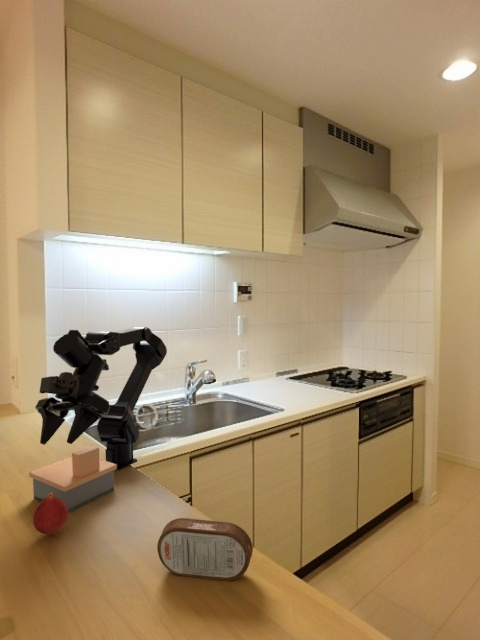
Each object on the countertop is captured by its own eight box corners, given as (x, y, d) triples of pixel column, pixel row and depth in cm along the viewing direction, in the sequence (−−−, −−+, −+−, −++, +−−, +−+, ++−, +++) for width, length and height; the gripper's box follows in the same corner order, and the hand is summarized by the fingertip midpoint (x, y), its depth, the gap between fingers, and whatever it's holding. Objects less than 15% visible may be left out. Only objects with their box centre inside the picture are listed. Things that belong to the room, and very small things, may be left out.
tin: (253, 573, 64) (252, 521, 63) (250, 587, 61) (249, 532, 60) (162, 563, 66) (161, 513, 66) (155, 576, 63) (154, 524, 63)
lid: (81, 463, 99) (80, 433, 99) (117, 475, 92) (116, 442, 91) (29, 483, 88) (28, 449, 88) (64, 499, 81) (63, 462, 81)
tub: (81, 478, 98) (81, 458, 98) (114, 490, 92) (113, 469, 92) (33, 498, 88) (32, 476, 88) (66, 514, 82) (65, 490, 82)
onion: (33, 548, 71) (32, 504, 70) (33, 531, 76) (32, 490, 75) (69, 539, 73) (68, 496, 73) (67, 523, 78) (65, 483, 78)
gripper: (32, 365, 93) (-3, 430, 84) (84, 354, 83) (50, 426, 74) (70, 387, 100) (41, 449, 91) (122, 380, 91) (95, 448, 82)
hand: (55, 443), depth 84 cm, fingers open, 9 cm apart
